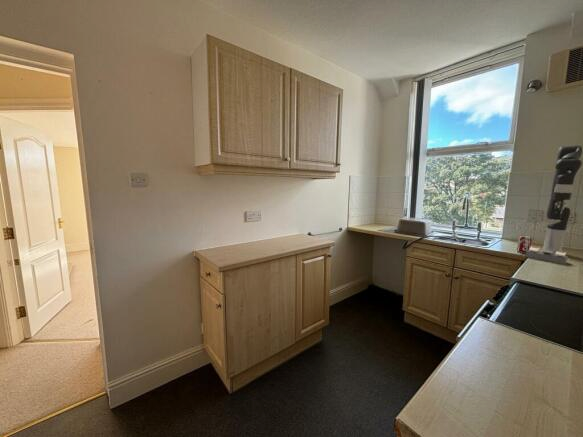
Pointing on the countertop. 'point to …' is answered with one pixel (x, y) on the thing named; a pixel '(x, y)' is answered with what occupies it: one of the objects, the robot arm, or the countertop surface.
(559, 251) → the rocker
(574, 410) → the countertop surface
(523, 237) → the soda can
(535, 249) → the rocker
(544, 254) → the power strip
